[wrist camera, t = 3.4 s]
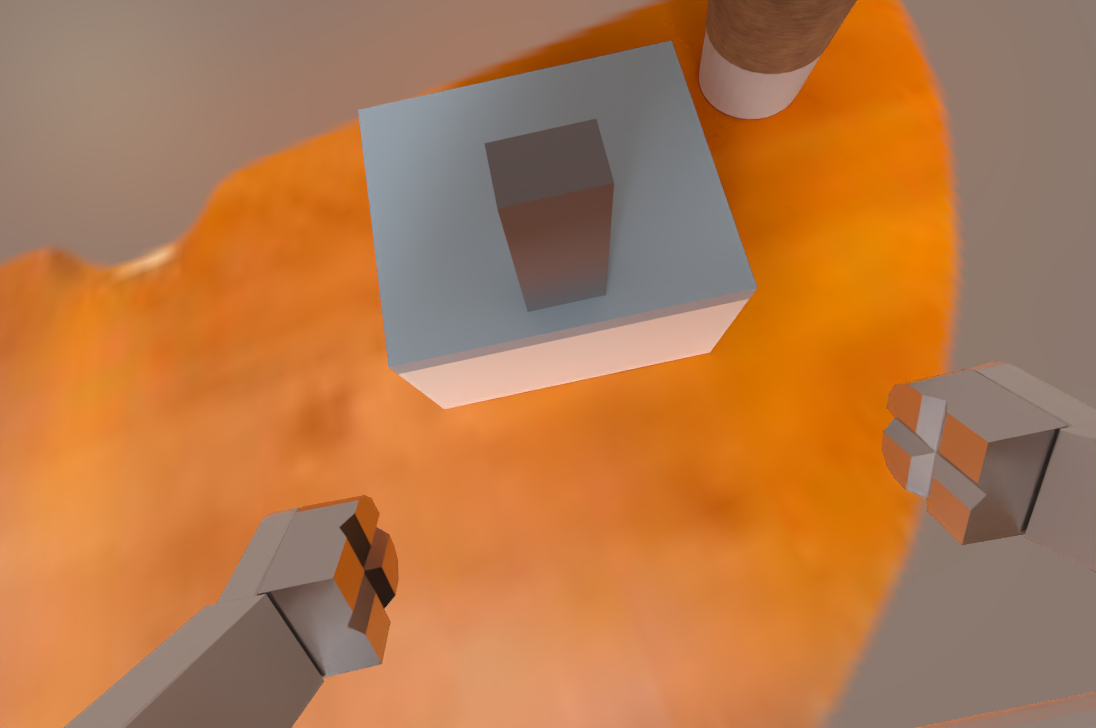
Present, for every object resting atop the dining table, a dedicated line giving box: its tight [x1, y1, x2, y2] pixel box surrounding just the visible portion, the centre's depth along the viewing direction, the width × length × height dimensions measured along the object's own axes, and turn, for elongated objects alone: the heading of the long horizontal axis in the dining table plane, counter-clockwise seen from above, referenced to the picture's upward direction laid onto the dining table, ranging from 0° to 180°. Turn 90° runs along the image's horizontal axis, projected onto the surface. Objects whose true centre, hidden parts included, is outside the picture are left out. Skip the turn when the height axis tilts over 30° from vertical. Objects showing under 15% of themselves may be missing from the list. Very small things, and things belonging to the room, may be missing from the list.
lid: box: [358, 40, 757, 374], centre depth 19 cm, size 14×12×9 cm
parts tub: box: [398, 299, 749, 409], centre depth 26 cm, size 14×12×7 cm
